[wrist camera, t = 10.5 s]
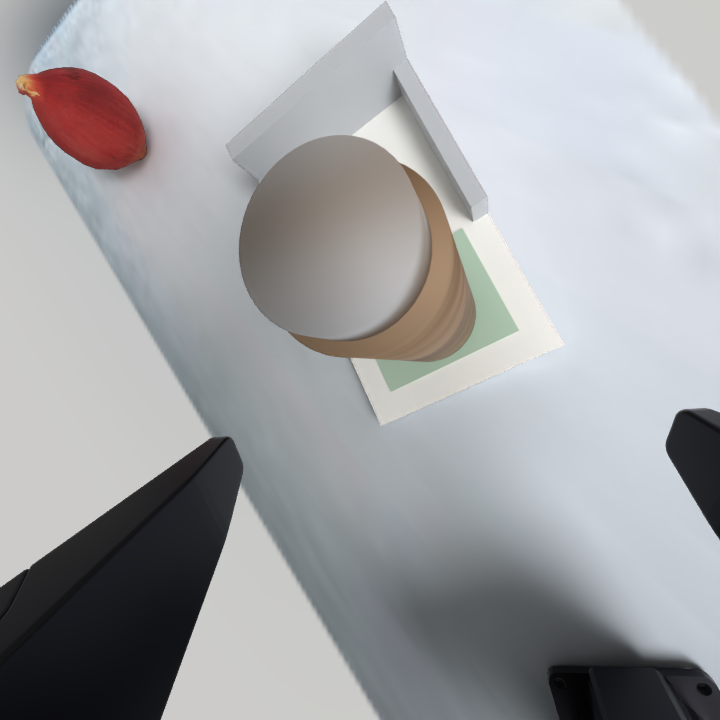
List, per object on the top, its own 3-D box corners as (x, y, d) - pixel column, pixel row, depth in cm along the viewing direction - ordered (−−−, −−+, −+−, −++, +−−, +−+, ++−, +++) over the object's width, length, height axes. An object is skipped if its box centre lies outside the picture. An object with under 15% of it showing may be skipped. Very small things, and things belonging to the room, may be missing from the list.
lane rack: (560, 345, 17) (585, 338, 12) (386, 423, 20) (354, 441, 16) (411, 85, 20) (385, 0, 15) (279, 189, 23) (225, 145, 19)
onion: (116, 134, 29) (-13, 55, 22) (164, 103, 27) (40, 5, 20) (124, 198, 29) (-5, 141, 21) (173, 172, 27) (50, 98, 19)
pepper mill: (488, 345, 17) (475, 309, 6) (395, 372, 19) (252, 383, 8) (459, 253, 18) (398, 65, 7) (371, 287, 20) (206, 184, 8)
